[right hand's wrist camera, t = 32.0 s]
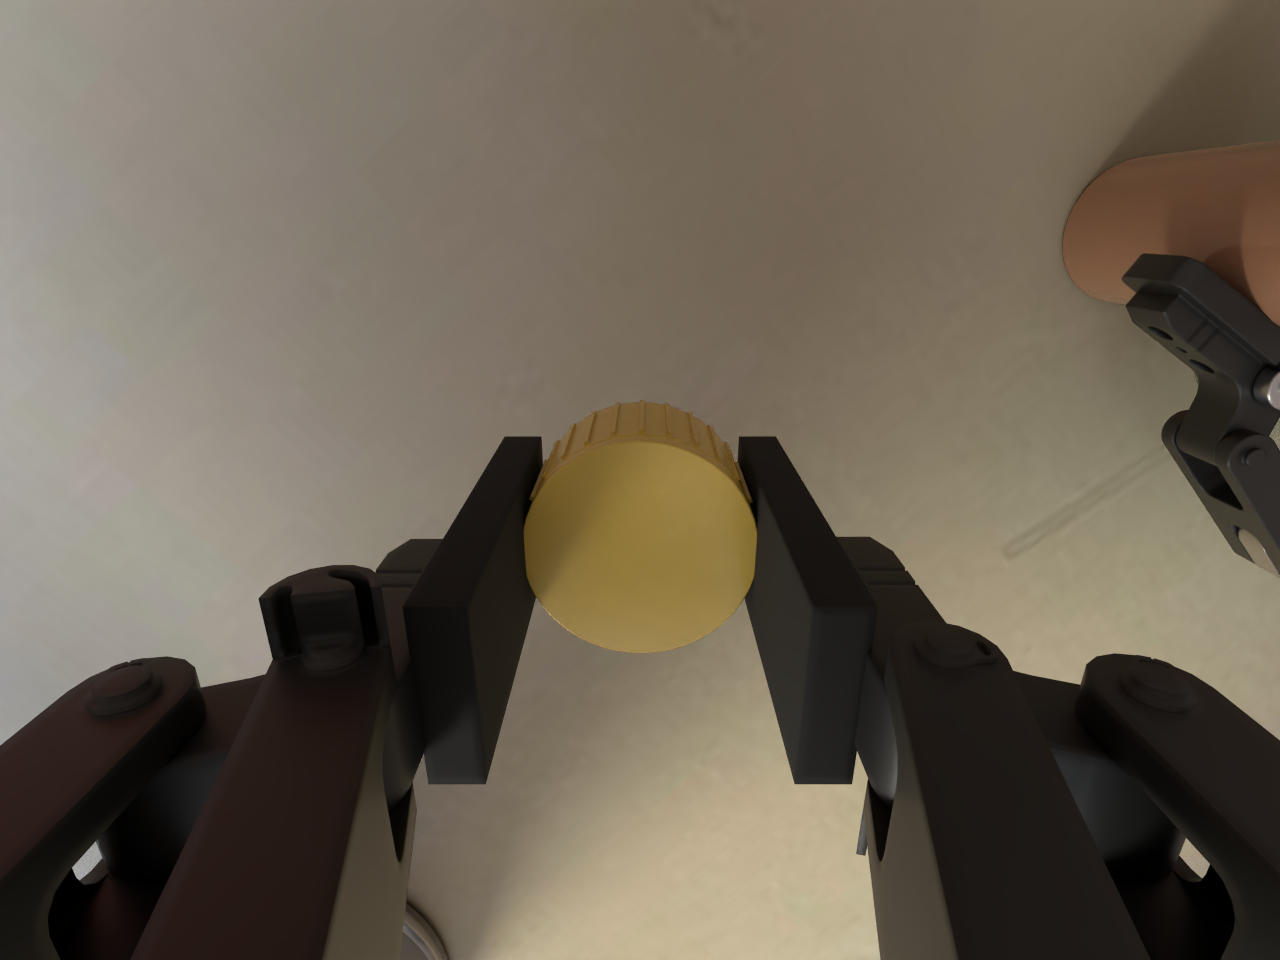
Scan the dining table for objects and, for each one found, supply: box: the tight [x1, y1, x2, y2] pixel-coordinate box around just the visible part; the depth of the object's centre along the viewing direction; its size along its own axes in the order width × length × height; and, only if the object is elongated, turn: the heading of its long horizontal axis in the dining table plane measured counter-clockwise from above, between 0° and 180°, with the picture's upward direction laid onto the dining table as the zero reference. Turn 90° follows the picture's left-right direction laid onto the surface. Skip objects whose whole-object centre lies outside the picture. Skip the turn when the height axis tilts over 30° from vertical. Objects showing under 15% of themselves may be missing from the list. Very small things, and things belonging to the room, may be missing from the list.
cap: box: [524, 400, 757, 653], centre depth 13 cm, size 4×4×2 cm
